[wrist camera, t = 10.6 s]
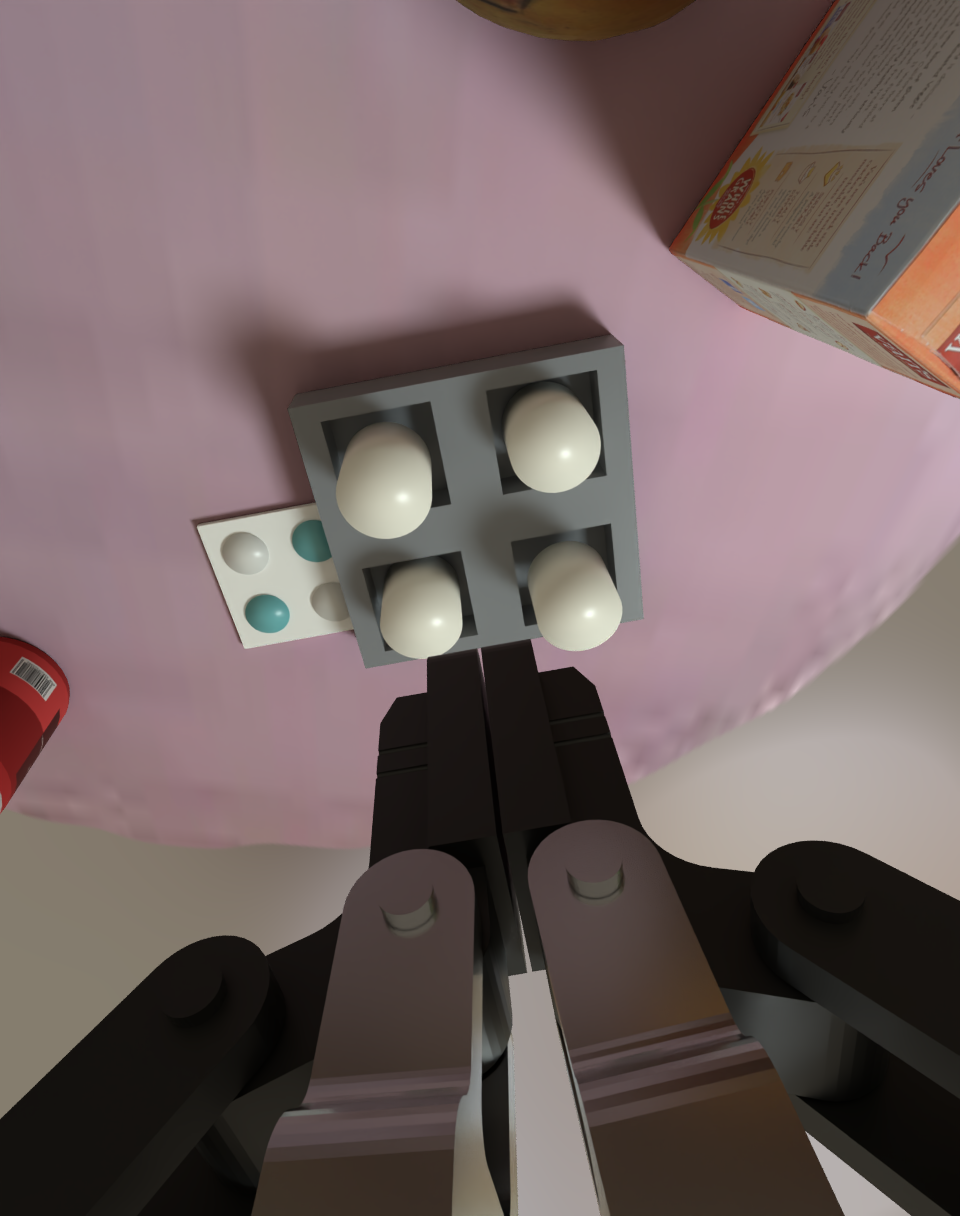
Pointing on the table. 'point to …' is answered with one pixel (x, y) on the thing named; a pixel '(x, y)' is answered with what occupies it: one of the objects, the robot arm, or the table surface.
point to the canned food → (26, 709)
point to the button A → (385, 481)
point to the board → (478, 487)
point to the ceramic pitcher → (576, 16)
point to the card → (277, 575)
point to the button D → (573, 596)
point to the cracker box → (851, 193)
